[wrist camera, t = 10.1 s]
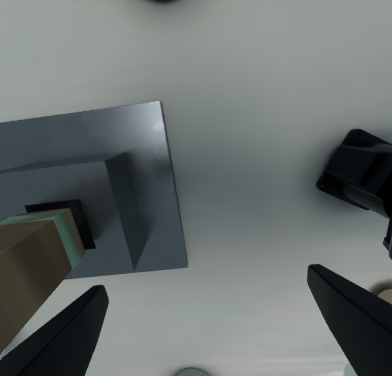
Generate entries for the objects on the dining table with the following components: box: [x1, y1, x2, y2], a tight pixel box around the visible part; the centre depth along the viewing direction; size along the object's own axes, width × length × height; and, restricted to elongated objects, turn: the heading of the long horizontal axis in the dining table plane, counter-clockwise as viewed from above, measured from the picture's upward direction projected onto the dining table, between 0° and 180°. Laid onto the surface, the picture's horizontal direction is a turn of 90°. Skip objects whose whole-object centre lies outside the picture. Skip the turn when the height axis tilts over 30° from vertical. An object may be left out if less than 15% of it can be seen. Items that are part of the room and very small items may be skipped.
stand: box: [0, 101, 188, 279], centre depth 19 cm, size 18×18×6 cm
